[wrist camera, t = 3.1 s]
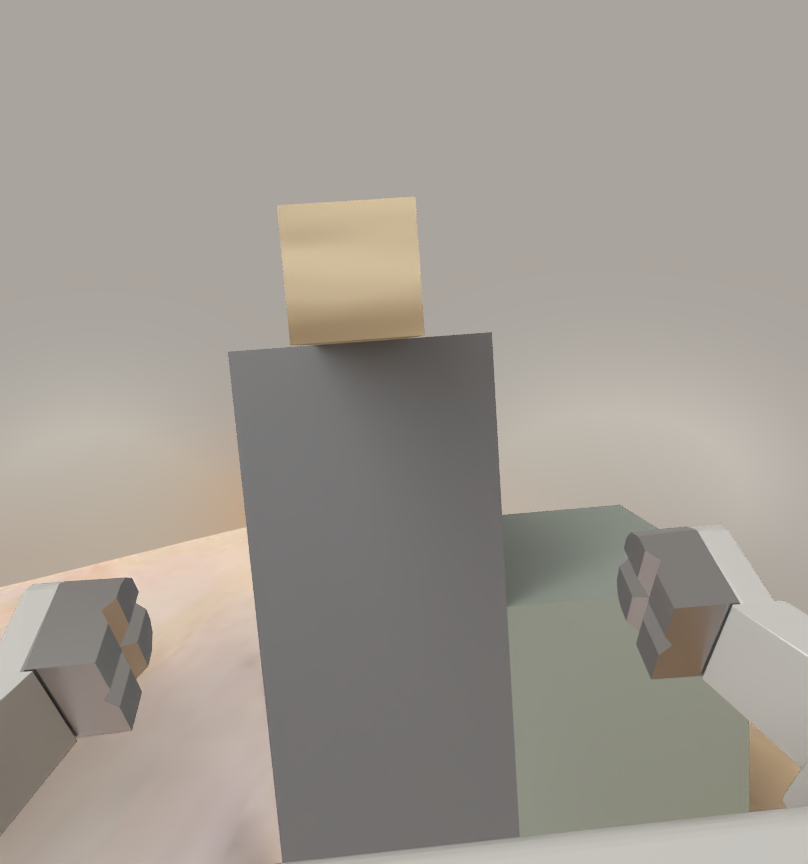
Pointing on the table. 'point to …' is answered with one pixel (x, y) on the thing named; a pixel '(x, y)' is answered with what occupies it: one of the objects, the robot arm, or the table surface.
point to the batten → (351, 271)
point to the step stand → (446, 621)
